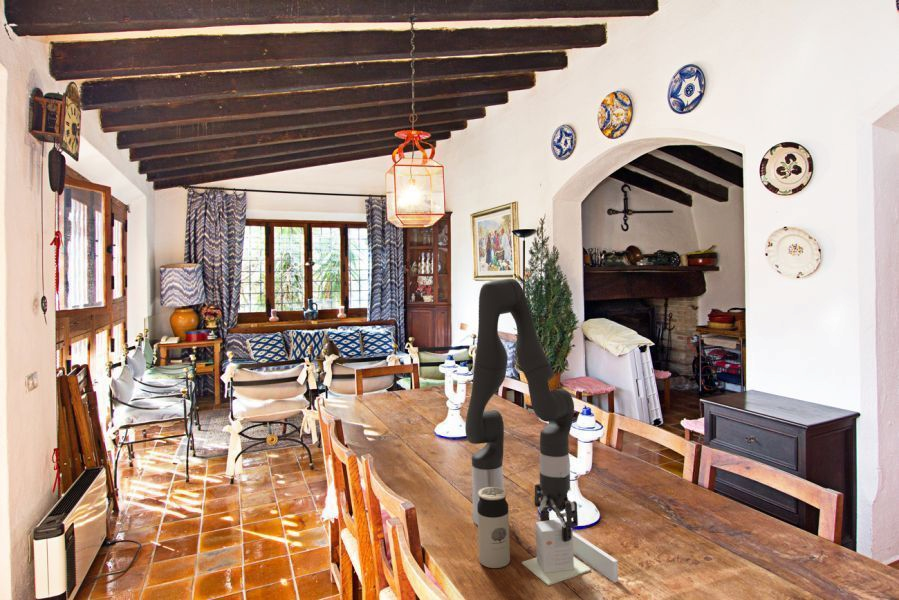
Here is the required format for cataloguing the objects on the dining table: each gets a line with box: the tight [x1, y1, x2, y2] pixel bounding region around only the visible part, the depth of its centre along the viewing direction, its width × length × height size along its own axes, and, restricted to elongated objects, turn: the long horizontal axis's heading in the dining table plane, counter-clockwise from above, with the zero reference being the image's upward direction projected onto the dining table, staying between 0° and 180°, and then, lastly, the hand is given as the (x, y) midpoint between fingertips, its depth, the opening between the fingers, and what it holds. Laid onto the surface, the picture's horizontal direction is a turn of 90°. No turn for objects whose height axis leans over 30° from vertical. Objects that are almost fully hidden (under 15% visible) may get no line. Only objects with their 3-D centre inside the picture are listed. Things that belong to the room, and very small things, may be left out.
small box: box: [535, 518, 574, 573], centre depth 129 cm, size 8×6×10 cm
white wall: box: [573, 531, 619, 583], centre depth 132 cm, size 20×1×5 cm, turn 26°
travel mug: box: [477, 487, 511, 569], centre depth 133 cm, size 8×8×18 cm
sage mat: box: [521, 556, 592, 586], centre depth 130 cm, size 11×13×1 cm
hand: (555, 533), depth 130 cm, fingers open, 8 cm apart
